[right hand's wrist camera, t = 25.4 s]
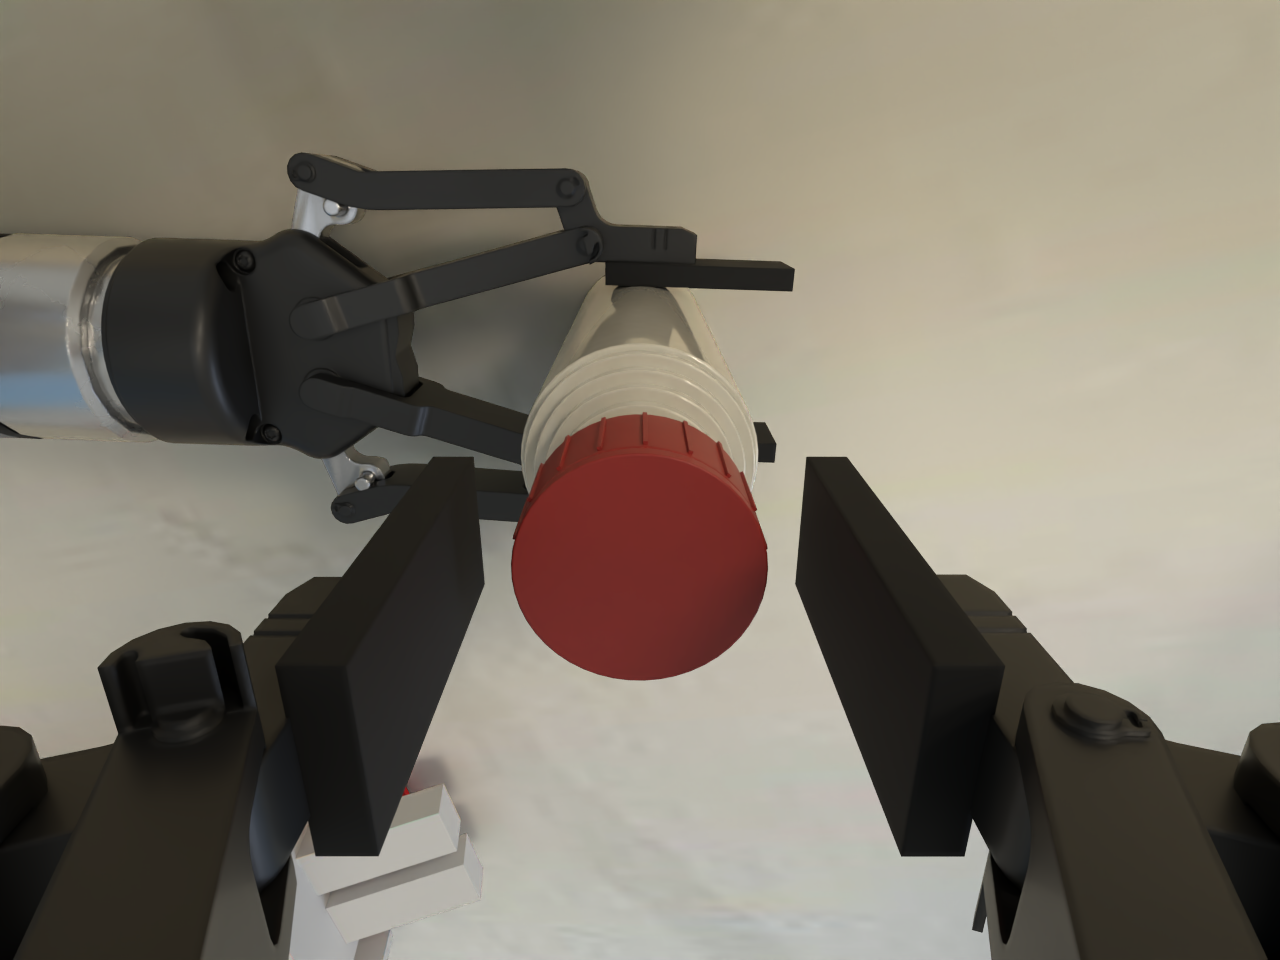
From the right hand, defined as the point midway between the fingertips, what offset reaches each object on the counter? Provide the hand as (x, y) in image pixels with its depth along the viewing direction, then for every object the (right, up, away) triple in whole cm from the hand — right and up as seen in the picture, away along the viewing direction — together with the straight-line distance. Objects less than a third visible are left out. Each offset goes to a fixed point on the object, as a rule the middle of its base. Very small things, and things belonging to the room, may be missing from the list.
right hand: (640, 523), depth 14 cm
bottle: (0, +8, +20) cm, 21 cm away
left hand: (+5, +5, +14) cm, 16 cm away
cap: (0, -1, -2) cm, 2 cm away
